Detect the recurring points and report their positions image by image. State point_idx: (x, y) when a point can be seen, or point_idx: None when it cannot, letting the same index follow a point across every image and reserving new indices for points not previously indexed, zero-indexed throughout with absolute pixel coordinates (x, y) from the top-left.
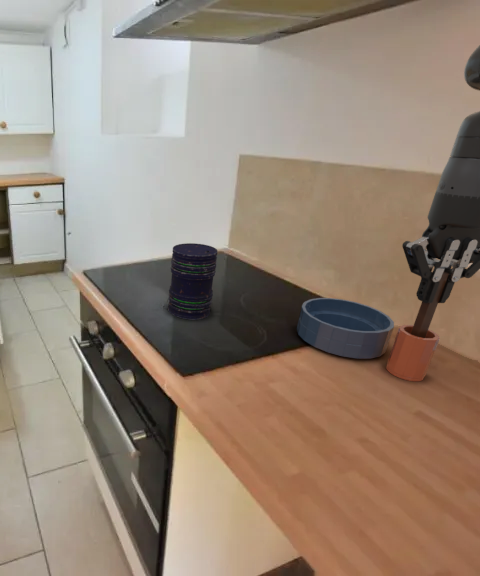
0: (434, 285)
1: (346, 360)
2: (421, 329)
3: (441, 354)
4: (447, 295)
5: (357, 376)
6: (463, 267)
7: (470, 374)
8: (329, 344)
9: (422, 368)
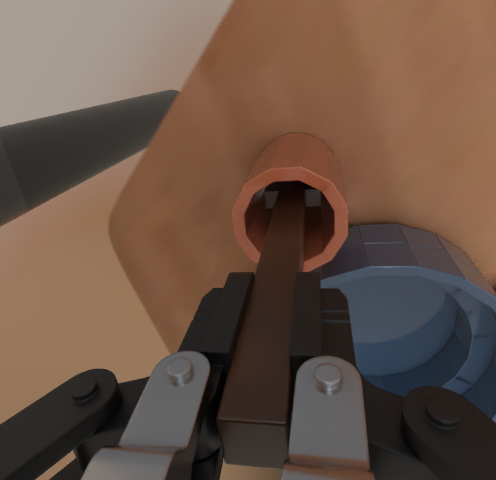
0: (319, 339)
1: (419, 224)
2: (296, 217)
3: (152, 256)
4: (223, 294)
5: (447, 146)
6: (129, 446)
7: (137, 175)
8: (474, 265)
9: (287, 142)
